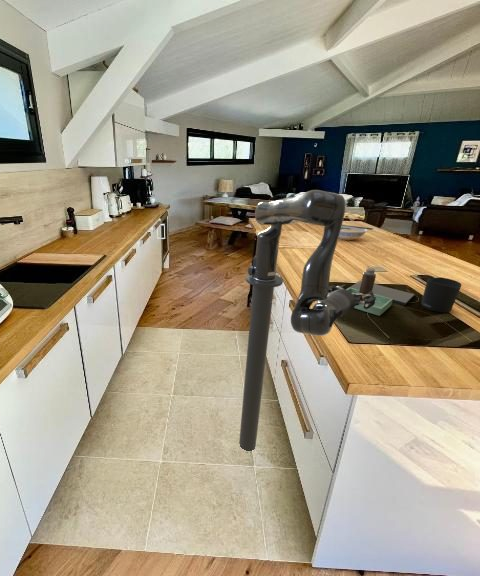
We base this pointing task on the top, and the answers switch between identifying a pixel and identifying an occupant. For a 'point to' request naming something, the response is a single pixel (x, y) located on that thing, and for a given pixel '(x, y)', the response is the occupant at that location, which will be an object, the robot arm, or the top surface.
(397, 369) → the top surface
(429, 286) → the pen holder
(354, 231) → the ramen bowl
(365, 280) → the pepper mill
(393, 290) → the slate board
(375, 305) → the tray
